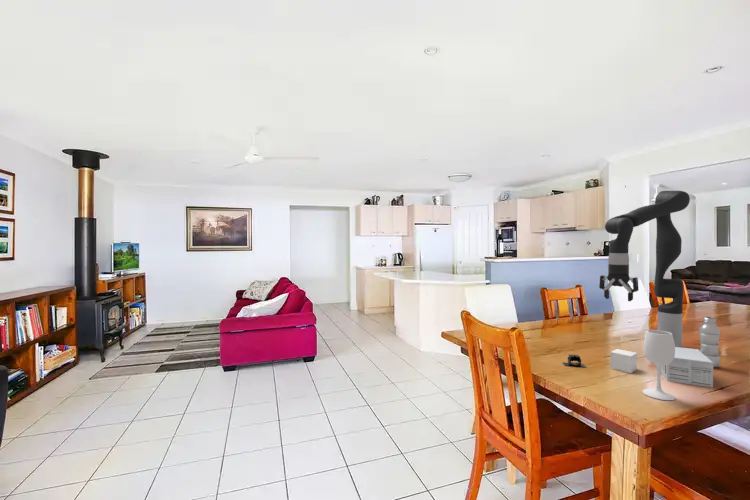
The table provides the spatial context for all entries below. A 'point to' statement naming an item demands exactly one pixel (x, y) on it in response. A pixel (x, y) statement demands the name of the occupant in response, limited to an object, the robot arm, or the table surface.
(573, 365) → the black screwed bracket block
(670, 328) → the robot arm
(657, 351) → the wineglass
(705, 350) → the plastic bottle
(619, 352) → the smooth white box
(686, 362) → the supplement box
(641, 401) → the table surface
